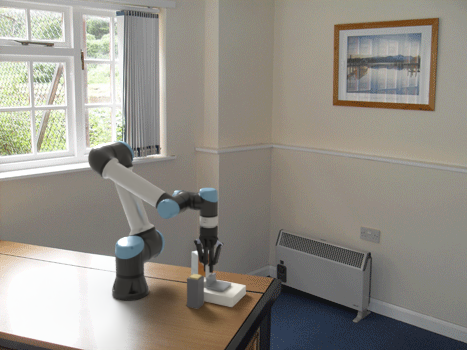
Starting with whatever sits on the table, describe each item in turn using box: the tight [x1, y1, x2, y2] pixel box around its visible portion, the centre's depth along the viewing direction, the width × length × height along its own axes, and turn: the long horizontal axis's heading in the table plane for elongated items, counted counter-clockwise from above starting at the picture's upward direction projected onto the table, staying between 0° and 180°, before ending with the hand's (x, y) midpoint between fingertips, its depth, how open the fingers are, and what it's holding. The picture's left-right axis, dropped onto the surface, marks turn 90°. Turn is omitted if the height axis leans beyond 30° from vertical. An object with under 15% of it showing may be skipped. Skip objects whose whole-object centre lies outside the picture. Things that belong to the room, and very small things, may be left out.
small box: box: [190, 250, 214, 277], centre depth 239 cm, size 8×6×13 cm
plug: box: [186, 274, 205, 310], centre depth 213 cm, size 5×5×13 cm
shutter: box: [206, 272, 231, 292], centre depth 222 cm, size 8×8×4 cm
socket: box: [204, 277, 247, 308], centre depth 223 cm, size 20×14×4 cm
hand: (208, 279), depth 224 cm, fingers closed
